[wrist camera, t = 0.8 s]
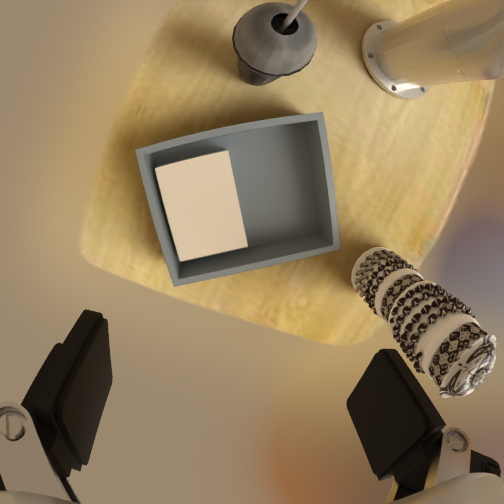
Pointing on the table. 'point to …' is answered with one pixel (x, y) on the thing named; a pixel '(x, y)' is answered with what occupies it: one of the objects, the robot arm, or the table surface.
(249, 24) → the beverage cup
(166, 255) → the tray
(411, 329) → the decorative candle
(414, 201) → the table surface
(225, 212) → the beige rectangular block
